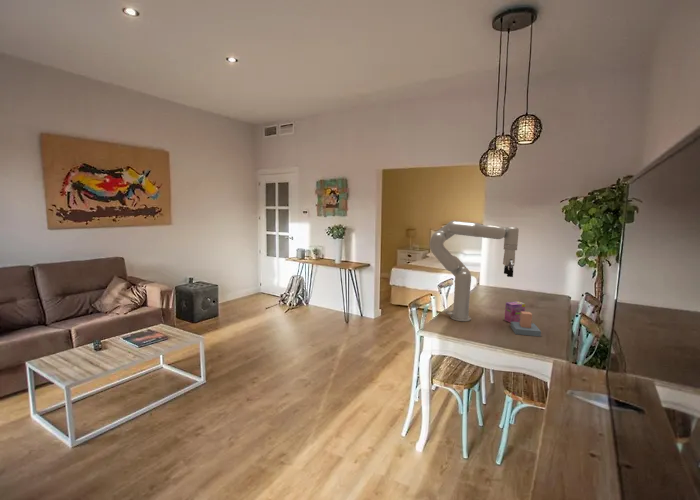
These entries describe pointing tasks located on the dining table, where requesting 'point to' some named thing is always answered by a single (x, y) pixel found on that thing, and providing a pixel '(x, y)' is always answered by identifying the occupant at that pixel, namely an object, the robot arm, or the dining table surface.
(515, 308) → the box
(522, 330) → the base
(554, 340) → the dining table surface
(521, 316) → the block
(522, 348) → the dining table surface
